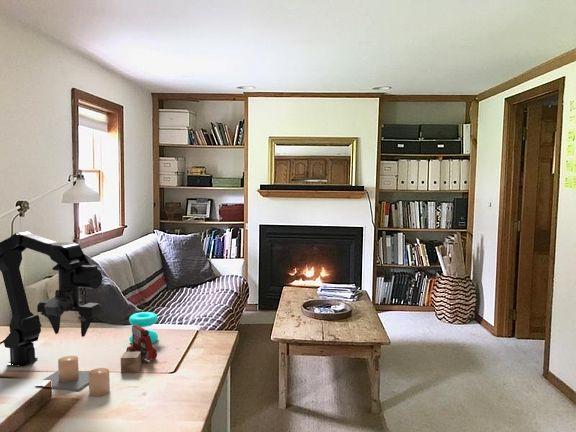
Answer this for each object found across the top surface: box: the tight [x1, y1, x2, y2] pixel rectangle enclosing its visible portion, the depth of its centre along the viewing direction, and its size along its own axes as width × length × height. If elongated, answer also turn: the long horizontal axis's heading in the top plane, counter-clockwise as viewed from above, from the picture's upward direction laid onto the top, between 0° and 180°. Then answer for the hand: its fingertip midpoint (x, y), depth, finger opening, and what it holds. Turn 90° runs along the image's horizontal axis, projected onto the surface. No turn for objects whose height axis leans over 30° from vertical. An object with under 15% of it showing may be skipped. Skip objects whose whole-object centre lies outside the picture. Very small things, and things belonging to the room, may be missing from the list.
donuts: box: [128, 311, 159, 344], centre depth 176 cm, size 10×10×10 cm
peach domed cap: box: [88, 367, 111, 398], centre depth 136 cm, size 5×5×6 cm
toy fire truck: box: [125, 325, 158, 363], centre depth 160 cm, size 7×12×10 cm, turn 42°
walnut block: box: [120, 351, 142, 374], centre depth 151 cm, size 5×5×5 cm
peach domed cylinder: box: [57, 355, 80, 383], centre depth 143 cm, size 5×5×6 cm
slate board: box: [42, 370, 90, 392], centre depth 143 cm, size 14×11×1 cm
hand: (69, 335), depth 149 cm, fingers open, 9 cm apart
